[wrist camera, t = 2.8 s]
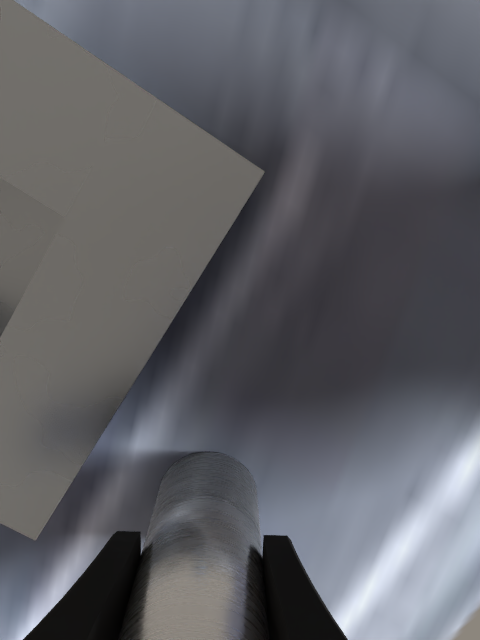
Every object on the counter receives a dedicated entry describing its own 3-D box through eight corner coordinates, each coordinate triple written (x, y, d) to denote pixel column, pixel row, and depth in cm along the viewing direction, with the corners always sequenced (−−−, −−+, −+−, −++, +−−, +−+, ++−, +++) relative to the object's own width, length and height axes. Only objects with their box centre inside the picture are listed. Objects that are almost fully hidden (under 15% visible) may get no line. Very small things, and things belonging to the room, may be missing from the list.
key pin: (276, 482, 14) (327, 808, 6) (223, 553, 15) (211, 931, 7) (191, 434, 14) (136, 720, 6) (141, 509, 14) (29, 859, 6)
